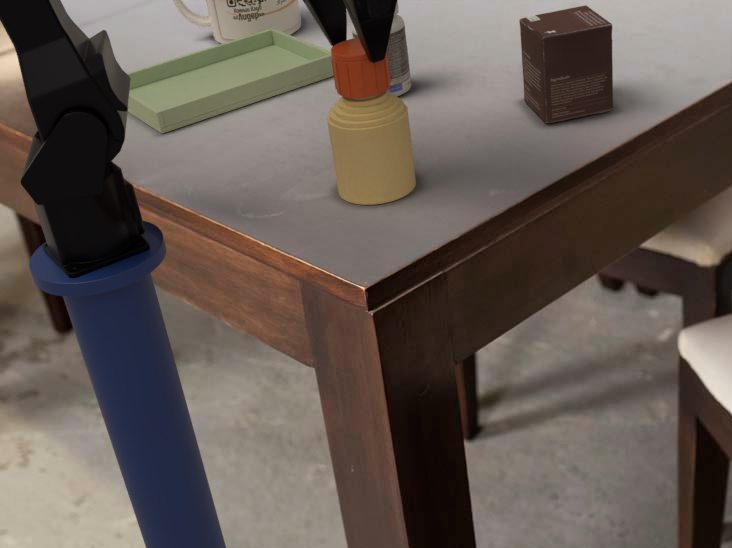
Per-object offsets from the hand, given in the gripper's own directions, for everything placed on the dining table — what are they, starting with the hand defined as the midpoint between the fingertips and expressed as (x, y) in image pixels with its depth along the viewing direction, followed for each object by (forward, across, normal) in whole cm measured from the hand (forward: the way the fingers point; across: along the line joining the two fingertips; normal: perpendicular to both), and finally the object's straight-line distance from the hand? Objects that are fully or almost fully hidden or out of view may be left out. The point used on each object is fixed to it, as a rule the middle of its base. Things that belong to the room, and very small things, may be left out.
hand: (358, 53), depth 79 cm
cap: (+3, 0, 0) cm, 3 cm away
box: (+11, +1, -20) cm, 23 cm away
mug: (+11, +45, -12) cm, 48 cm away
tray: (+10, +31, -2) cm, 33 cm away
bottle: (+10, 0, 0) cm, 11 cm away
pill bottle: (+11, +17, -12) cm, 23 cm away
